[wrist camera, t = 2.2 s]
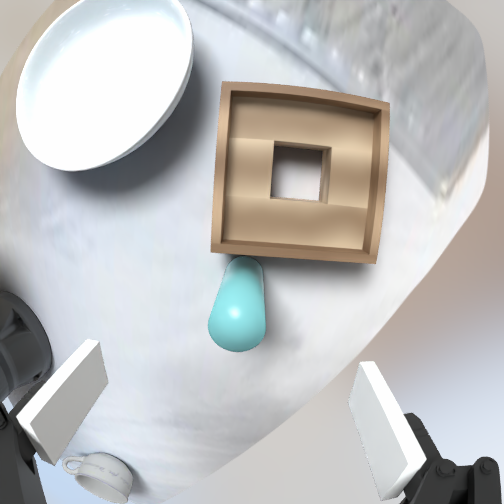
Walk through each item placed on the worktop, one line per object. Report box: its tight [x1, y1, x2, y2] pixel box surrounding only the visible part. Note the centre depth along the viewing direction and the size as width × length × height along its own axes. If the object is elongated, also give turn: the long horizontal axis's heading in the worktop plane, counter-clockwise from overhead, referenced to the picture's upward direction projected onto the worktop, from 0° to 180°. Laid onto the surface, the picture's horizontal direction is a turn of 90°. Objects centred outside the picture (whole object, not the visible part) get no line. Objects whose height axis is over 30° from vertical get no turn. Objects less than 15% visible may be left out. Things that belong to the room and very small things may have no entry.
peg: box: [208, 256, 266, 352], centre depth 26 cm, size 4×4×12 cm
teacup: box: [62, 453, 133, 504], centre depth 38 cm, size 14×11×8 cm
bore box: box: [211, 81, 390, 264], centre depth 26 cm, size 15×15×6 cm
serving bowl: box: [16, 0, 194, 171], centre depth 24 cm, size 21×21×7 cm
